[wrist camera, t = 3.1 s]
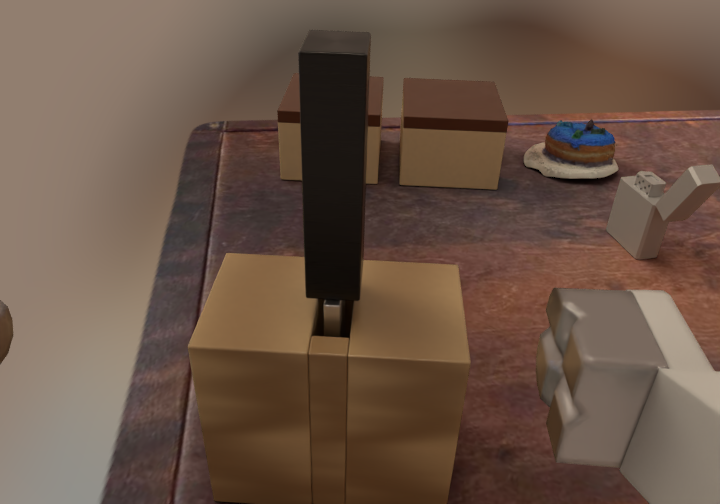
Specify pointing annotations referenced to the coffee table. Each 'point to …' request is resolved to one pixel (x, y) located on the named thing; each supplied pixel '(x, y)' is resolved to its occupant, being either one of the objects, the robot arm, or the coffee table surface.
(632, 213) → the grey angled block
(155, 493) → the coffee table surface
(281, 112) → the cake left
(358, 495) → the knife block
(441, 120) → the cake right
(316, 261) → the knife
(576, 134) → the dessert
